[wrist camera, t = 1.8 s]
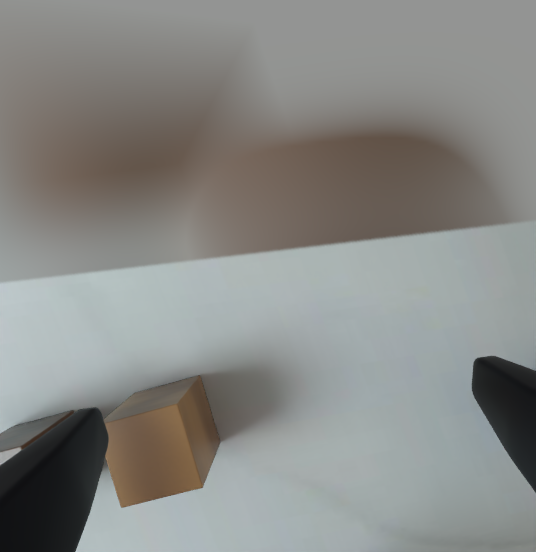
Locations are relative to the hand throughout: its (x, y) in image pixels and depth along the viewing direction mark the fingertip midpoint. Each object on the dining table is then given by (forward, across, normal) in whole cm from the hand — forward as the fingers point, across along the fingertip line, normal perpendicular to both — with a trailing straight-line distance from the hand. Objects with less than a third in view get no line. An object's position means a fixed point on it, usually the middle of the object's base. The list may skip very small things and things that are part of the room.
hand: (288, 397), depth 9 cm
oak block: (+14, +8, +11) cm, 19 cm away
